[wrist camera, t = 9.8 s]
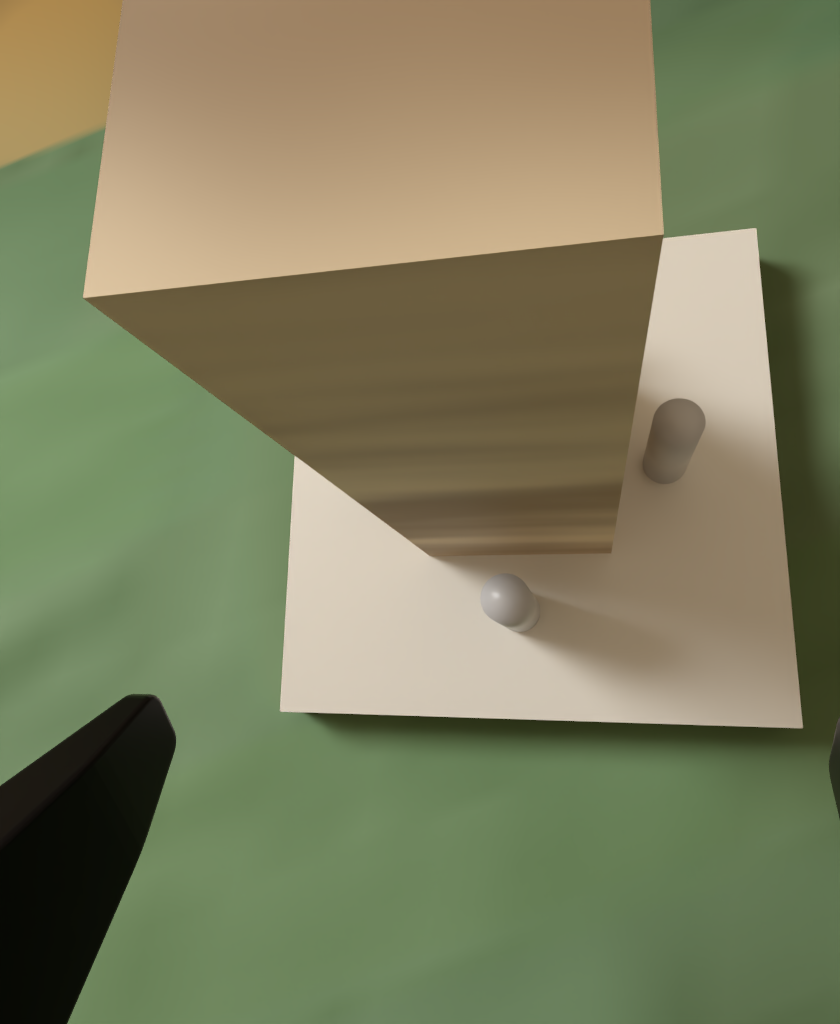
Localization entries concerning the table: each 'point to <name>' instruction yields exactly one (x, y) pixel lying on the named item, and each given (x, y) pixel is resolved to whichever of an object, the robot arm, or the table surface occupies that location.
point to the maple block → (398, 244)
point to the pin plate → (584, 559)
